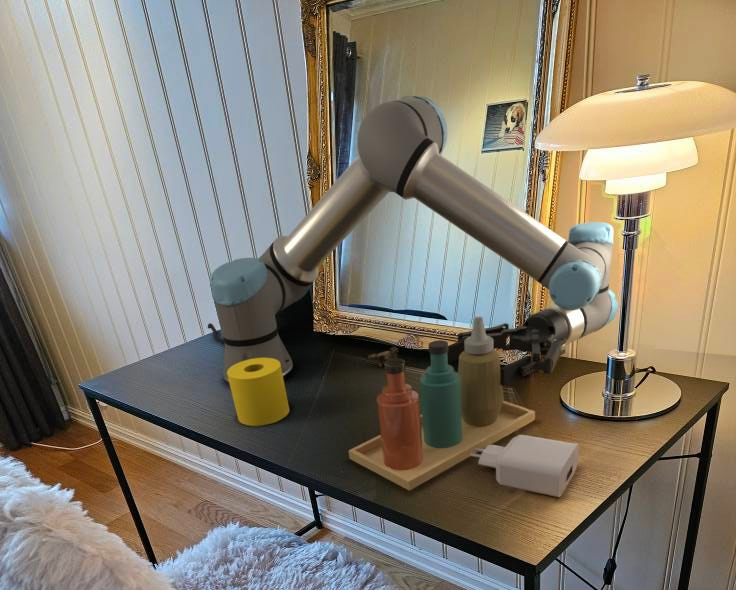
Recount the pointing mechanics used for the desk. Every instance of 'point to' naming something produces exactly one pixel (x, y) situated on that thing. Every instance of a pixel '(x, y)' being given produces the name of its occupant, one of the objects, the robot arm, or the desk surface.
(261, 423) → the yellow toilet paper roll
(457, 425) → the teal bottle
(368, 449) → the tray
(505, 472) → the charger
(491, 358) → the squeeze bottle
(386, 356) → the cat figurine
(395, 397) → the terracotta bottle
